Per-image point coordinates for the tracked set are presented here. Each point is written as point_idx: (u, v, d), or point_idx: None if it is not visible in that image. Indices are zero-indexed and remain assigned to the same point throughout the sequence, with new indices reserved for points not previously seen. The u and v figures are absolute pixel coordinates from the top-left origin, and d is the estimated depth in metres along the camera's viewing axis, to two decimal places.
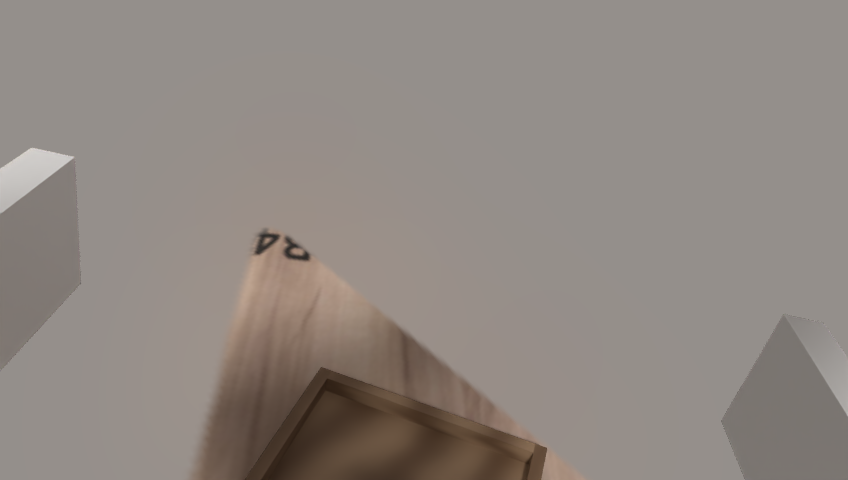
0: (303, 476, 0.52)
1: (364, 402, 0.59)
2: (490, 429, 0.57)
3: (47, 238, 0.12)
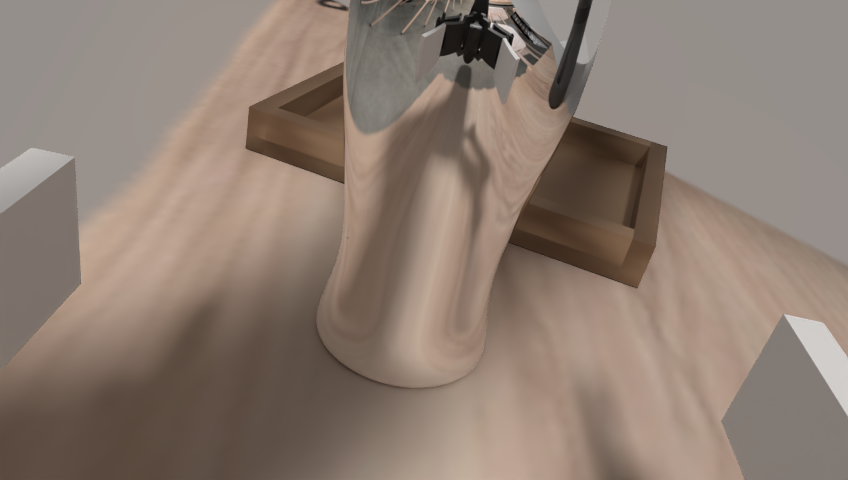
0: (340, 129, 0.37)
1: None
2: (589, 123, 0.43)
3: (47, 238, 0.12)
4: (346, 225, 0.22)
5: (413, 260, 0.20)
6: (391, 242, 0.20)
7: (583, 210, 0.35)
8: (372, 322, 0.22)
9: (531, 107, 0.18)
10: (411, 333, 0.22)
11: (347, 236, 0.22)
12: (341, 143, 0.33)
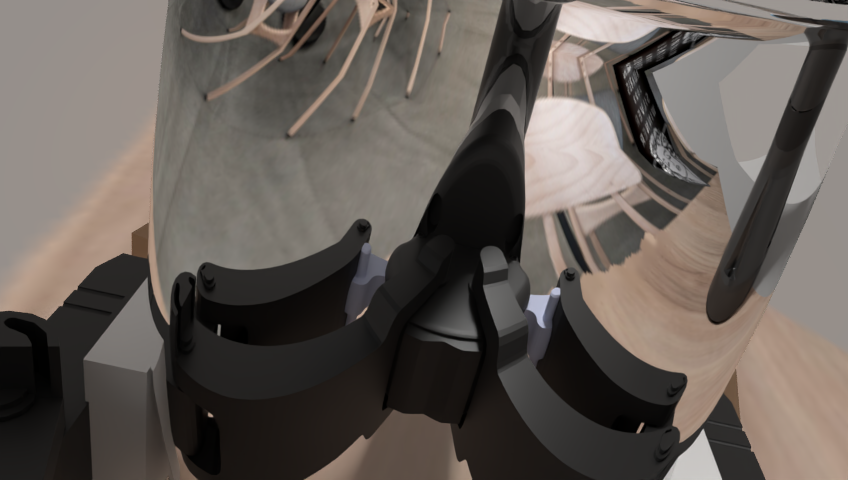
0: None
1: None
2: None
3: None
4: None
5: None
6: None
7: None
8: None
9: None
10: None
11: None
12: None
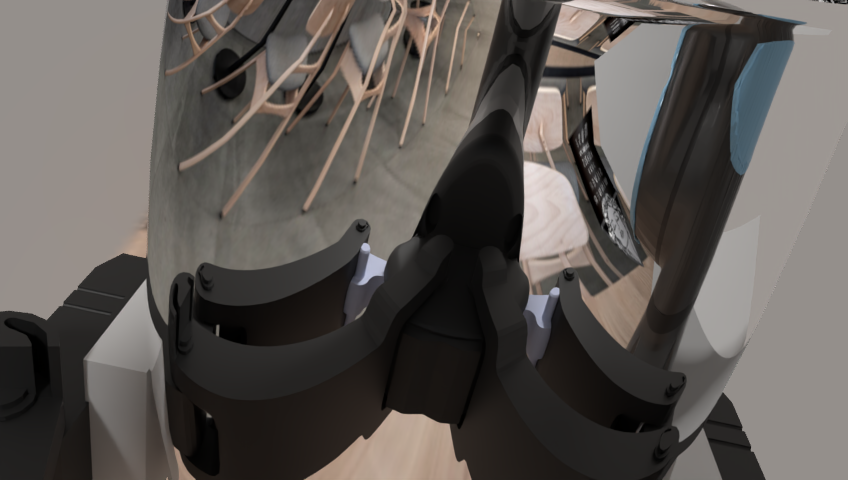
0: None
1: None
2: None
3: None
4: None
5: None
6: None
7: None
8: None
9: None
10: None
11: None
12: None
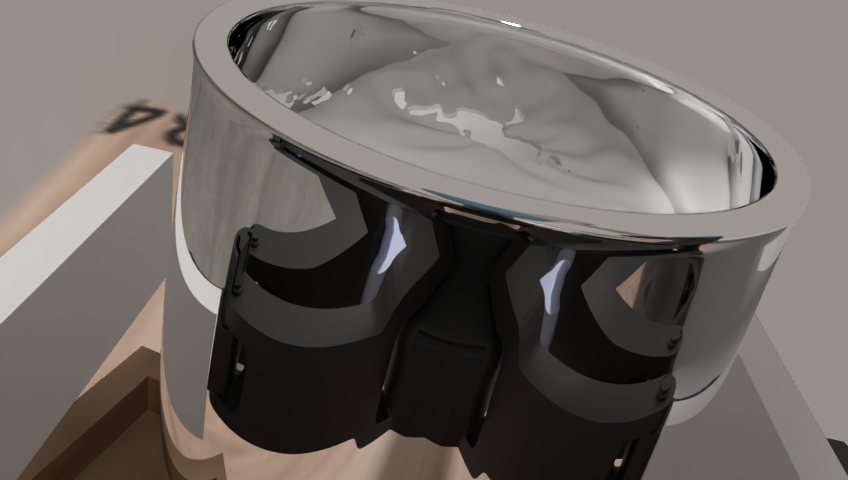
0: None
1: None
2: None
3: (150, 228, 0.13)
4: None
5: None
6: None
7: None
8: None
9: None
10: None
11: None
12: None
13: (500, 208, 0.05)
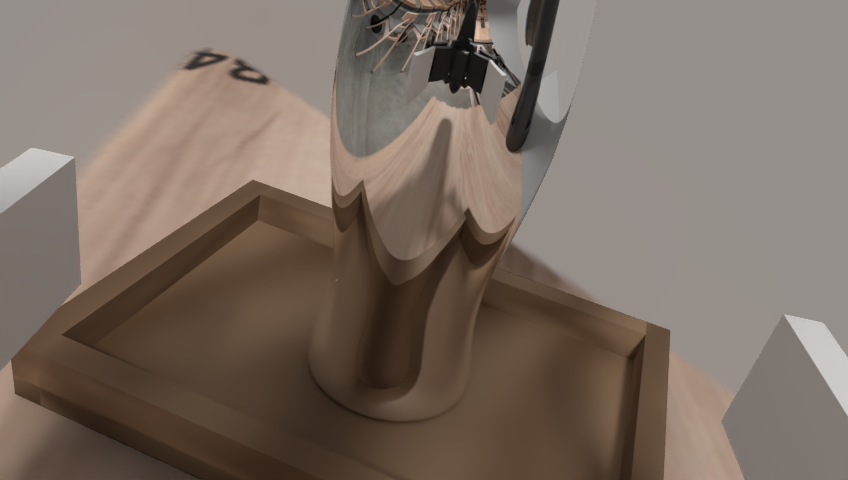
0: (181, 340, 0.25)
1: (326, 241, 0.32)
2: (560, 292, 0.30)
3: (47, 238, 0.12)
4: (335, 268, 0.23)
5: (400, 303, 0.21)
6: (379, 286, 0.21)
7: None
8: (361, 361, 0.23)
9: (509, 164, 0.19)
10: (399, 371, 0.23)
11: (336, 279, 0.23)
12: (149, 408, 0.20)
13: None
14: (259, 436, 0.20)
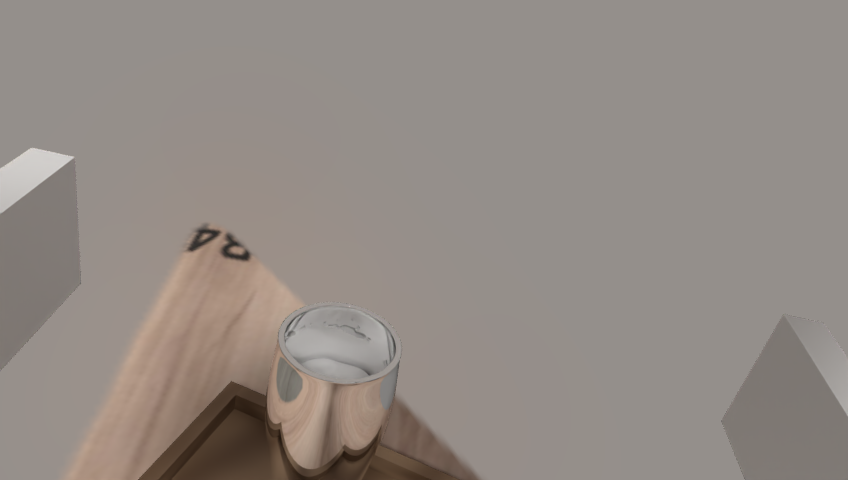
0: None
1: None
2: (421, 464, 0.48)
3: (47, 238, 0.12)
4: None
5: None
6: None
7: None
8: None
9: (351, 453, 0.37)
10: None
11: None
12: None
13: (327, 380, 0.34)
14: None
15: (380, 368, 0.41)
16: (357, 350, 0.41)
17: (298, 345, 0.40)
